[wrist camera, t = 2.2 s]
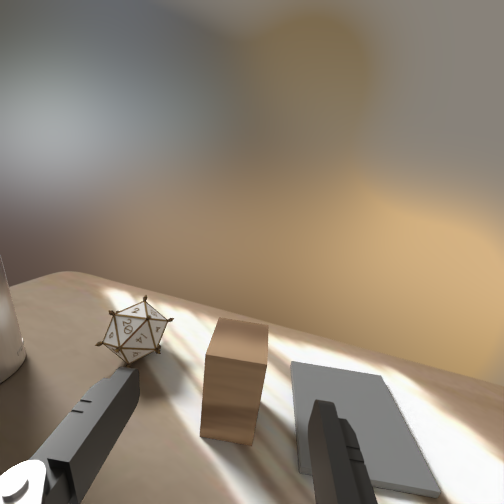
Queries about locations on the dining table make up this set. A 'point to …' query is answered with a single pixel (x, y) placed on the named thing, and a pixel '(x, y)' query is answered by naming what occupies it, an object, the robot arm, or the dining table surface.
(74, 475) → the robot arm
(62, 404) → the dining table surface
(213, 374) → the walnut block
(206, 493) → the dining table surface
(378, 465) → the rubber mat
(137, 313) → the game die
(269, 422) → the dining table surface
